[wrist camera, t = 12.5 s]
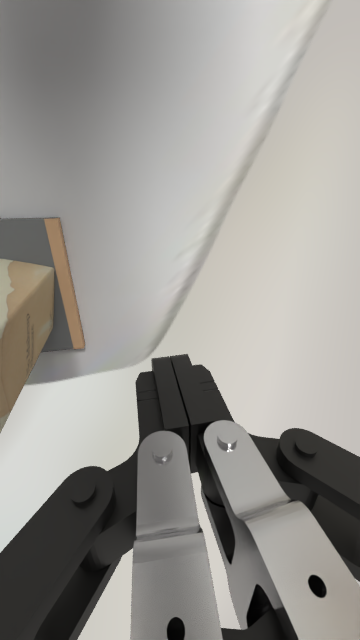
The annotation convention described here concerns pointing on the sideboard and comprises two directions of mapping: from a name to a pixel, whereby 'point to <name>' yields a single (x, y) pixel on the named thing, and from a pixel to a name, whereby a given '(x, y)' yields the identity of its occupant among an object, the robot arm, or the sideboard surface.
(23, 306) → the box
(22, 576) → the robot arm
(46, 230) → the mat
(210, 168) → the sideboard surface
